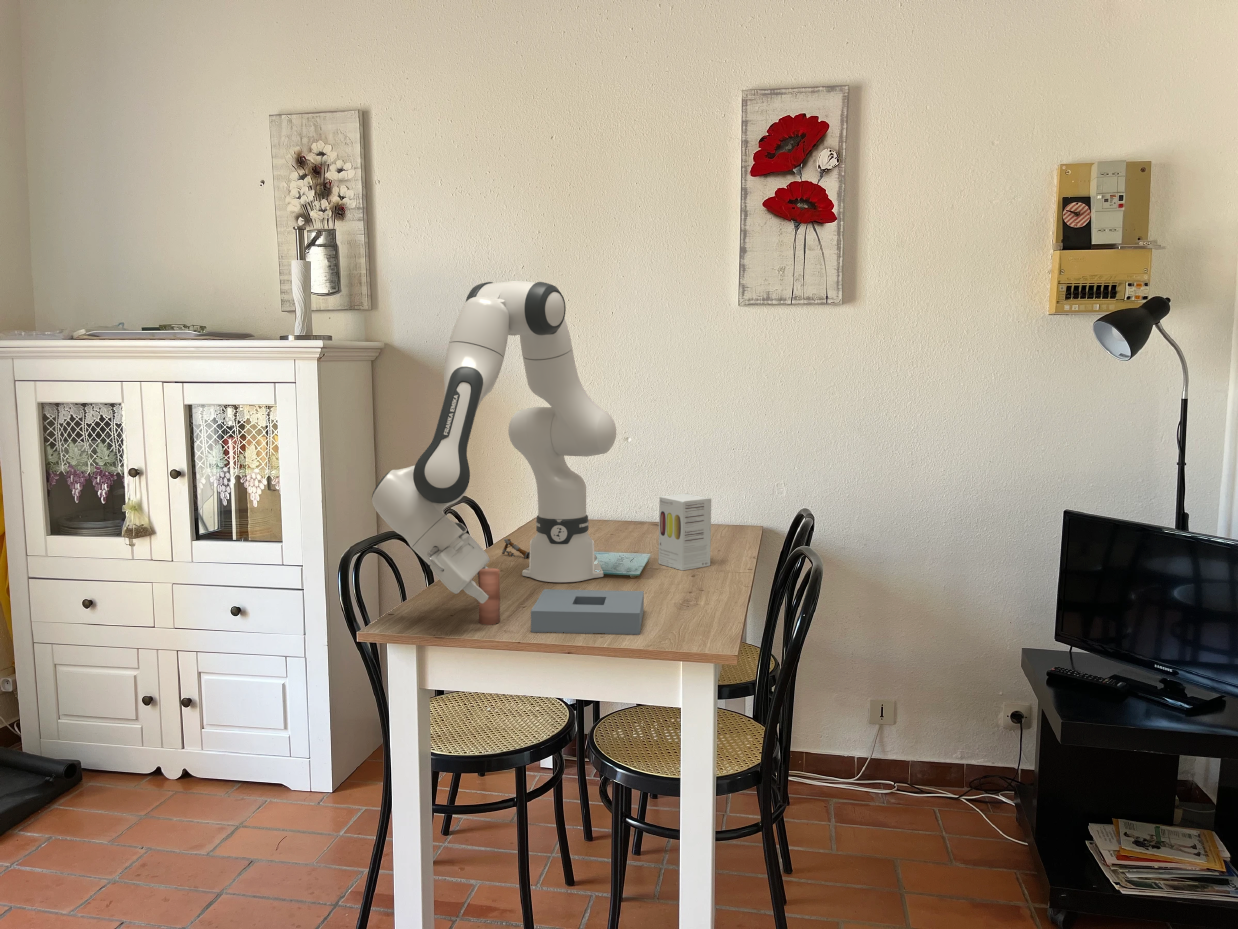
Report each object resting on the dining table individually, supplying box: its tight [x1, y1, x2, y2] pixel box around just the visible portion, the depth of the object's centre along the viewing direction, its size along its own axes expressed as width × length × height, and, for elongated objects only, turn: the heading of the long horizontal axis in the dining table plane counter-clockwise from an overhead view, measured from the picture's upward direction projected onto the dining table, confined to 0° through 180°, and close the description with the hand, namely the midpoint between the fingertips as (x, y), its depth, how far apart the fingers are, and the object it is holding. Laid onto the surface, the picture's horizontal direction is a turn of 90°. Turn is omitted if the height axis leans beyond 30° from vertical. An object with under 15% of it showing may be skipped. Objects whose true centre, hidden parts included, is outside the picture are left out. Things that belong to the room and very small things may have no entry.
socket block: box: [530, 588, 645, 635], centre depth 176 cm, size 16×20×4 cm
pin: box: [477, 567, 501, 626], centre depth 176 cm, size 4×4×10 cm
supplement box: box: [658, 493, 712, 571], centre depth 224 cm, size 10×9×17 cm
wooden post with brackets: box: [501, 538, 530, 559], centre depth 234 cm, size 2×8×4 cm, turn 62°
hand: (491, 593), depth 175 cm, fingers open, 8 cm apart
